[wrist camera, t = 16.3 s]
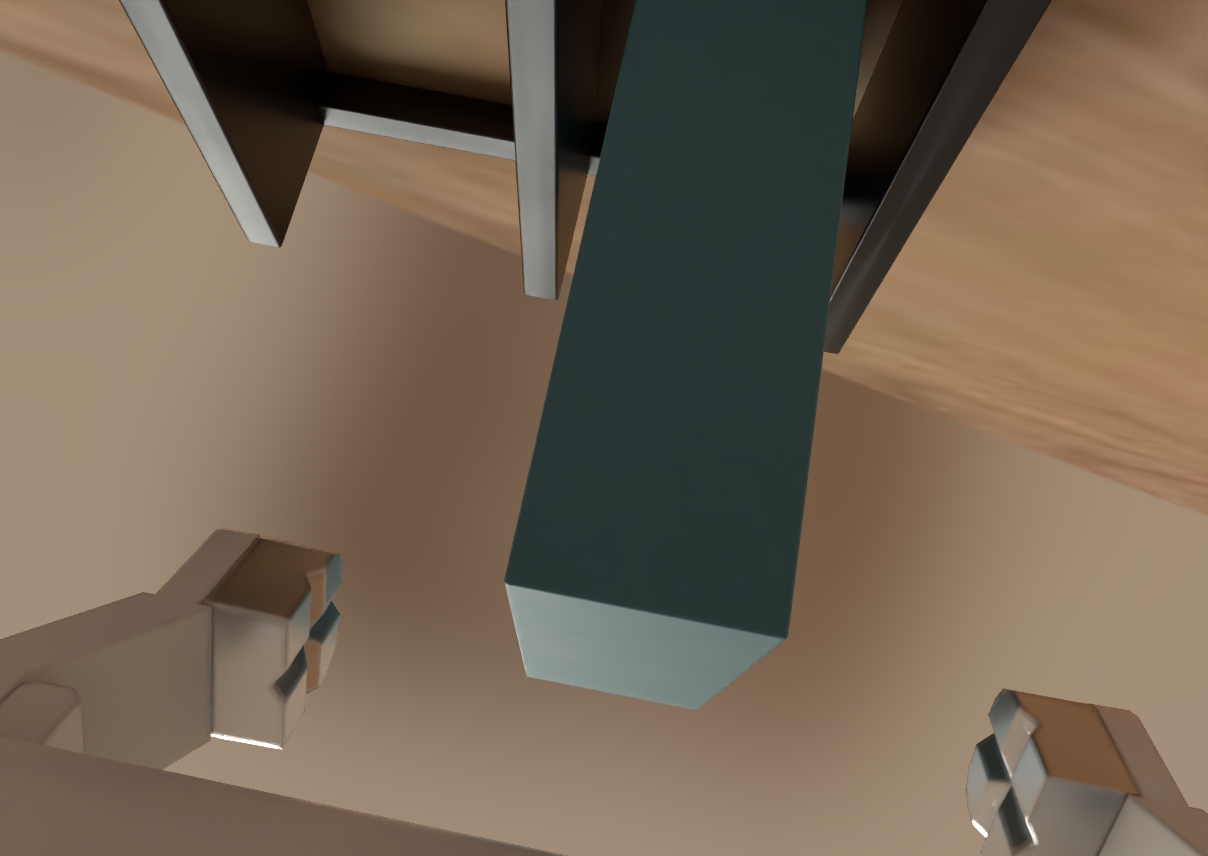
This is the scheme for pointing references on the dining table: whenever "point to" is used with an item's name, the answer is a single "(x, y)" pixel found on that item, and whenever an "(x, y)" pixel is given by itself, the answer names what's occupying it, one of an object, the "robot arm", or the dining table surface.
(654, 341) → the book
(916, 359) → the dining table surface
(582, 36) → the rack
